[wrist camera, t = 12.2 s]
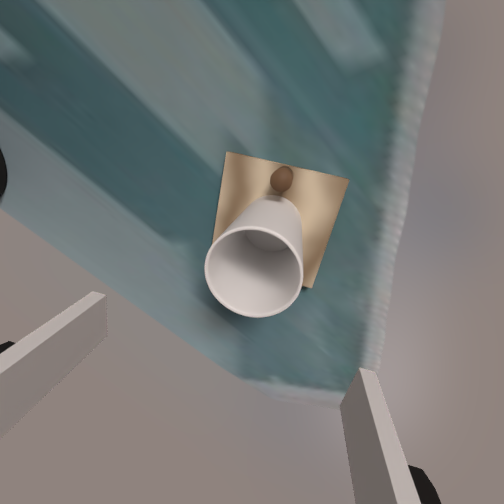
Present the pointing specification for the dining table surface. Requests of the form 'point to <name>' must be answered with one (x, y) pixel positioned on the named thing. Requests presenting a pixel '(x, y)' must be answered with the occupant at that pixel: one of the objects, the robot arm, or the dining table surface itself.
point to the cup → (258, 259)
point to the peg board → (290, 187)
